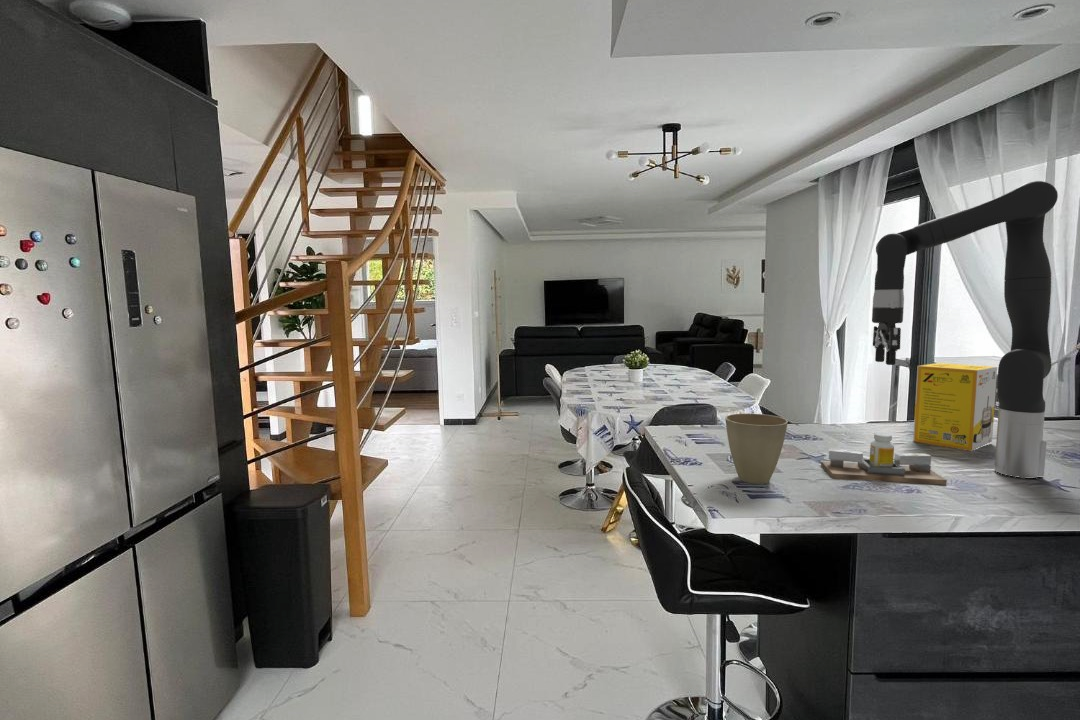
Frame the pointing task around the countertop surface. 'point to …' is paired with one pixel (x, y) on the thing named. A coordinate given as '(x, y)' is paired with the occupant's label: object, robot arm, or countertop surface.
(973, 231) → the robot arm
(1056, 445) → the countertop surface
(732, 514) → the countertop surface
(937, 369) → the packaging box
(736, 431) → the plant pot
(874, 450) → the supplement bottle
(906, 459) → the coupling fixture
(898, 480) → the walnut base board
